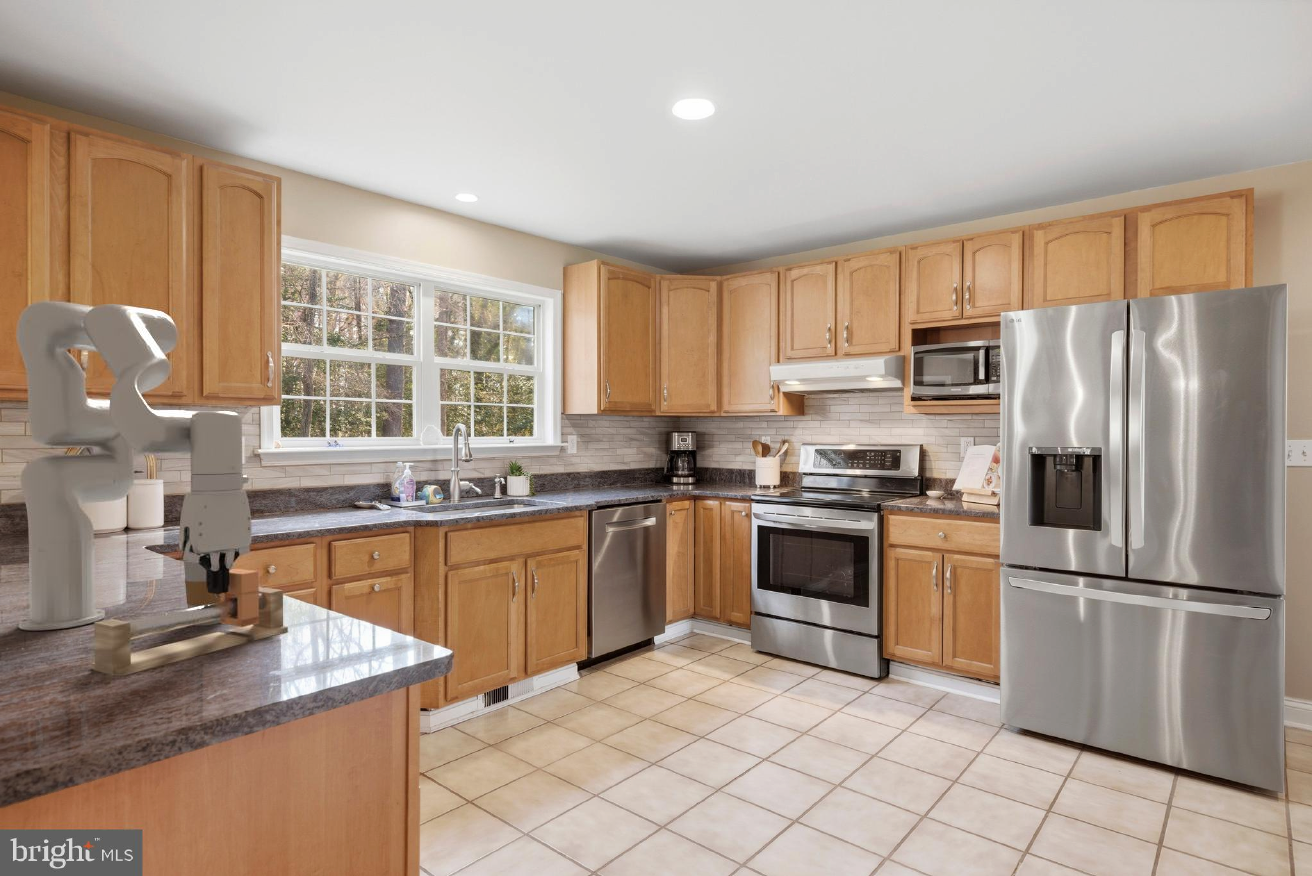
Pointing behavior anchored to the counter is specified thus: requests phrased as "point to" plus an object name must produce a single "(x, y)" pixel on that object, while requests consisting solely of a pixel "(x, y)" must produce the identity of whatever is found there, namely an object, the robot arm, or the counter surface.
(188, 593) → the coffee cup
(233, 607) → the pipe
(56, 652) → the counter surface
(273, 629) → the beige long frame
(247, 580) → the collar
